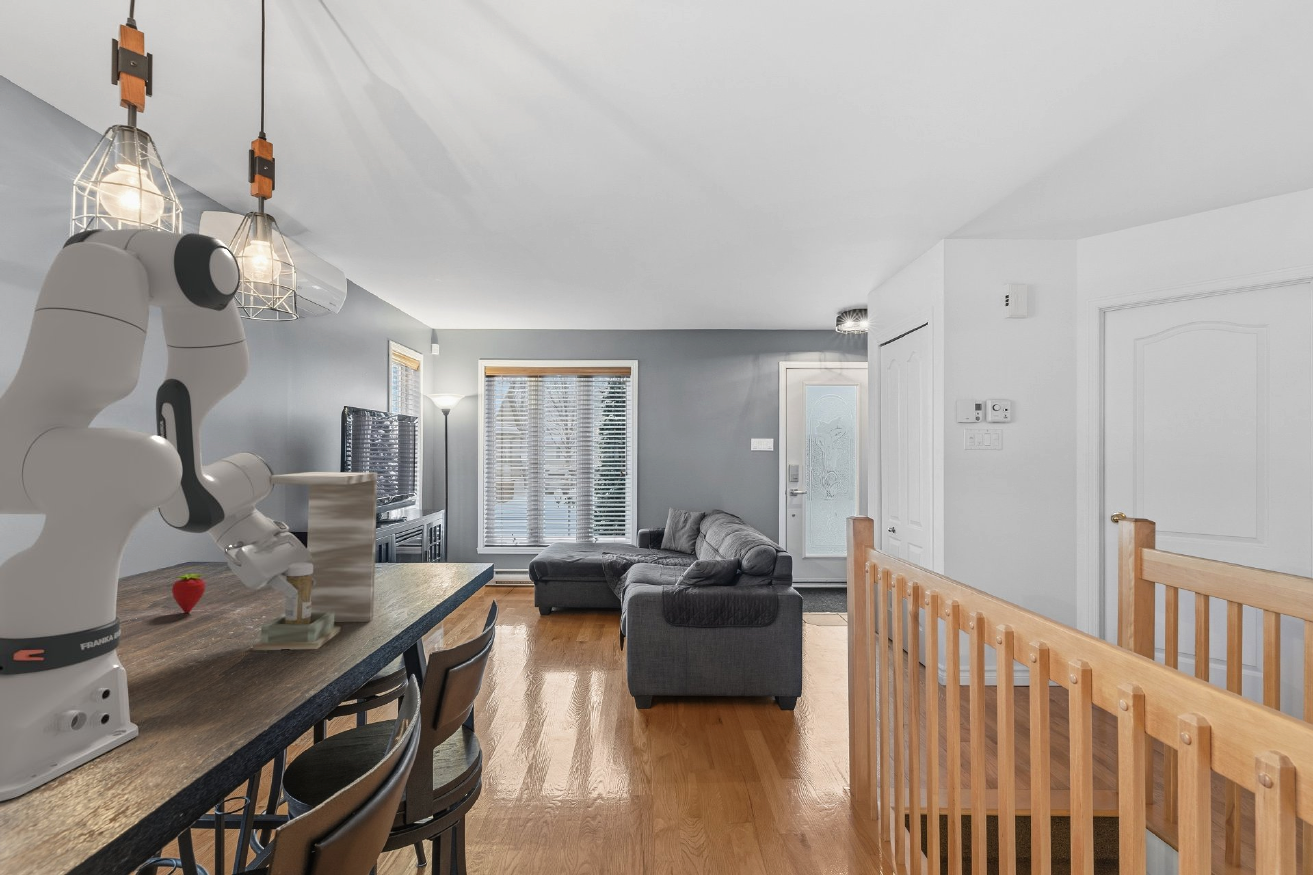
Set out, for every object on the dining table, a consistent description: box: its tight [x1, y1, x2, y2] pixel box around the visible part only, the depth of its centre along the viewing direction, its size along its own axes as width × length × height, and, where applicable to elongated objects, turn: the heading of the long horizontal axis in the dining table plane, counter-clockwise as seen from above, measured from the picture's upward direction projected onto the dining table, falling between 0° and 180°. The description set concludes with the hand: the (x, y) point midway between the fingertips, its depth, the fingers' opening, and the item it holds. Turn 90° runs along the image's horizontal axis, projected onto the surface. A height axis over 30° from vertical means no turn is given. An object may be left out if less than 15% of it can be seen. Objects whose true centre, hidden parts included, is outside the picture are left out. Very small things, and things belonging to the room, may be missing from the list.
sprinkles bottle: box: [284, 563, 313, 624], centre depth 118 cm, size 5×5×13 cm
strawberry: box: [171, 566, 207, 614], centre depth 136 cm, size 6×8×10 cm
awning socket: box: [252, 471, 378, 651], centre depth 123 cm, size 20×14×32 cm
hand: (304, 590), depth 118 cm, fingers open, 6 cm apart
